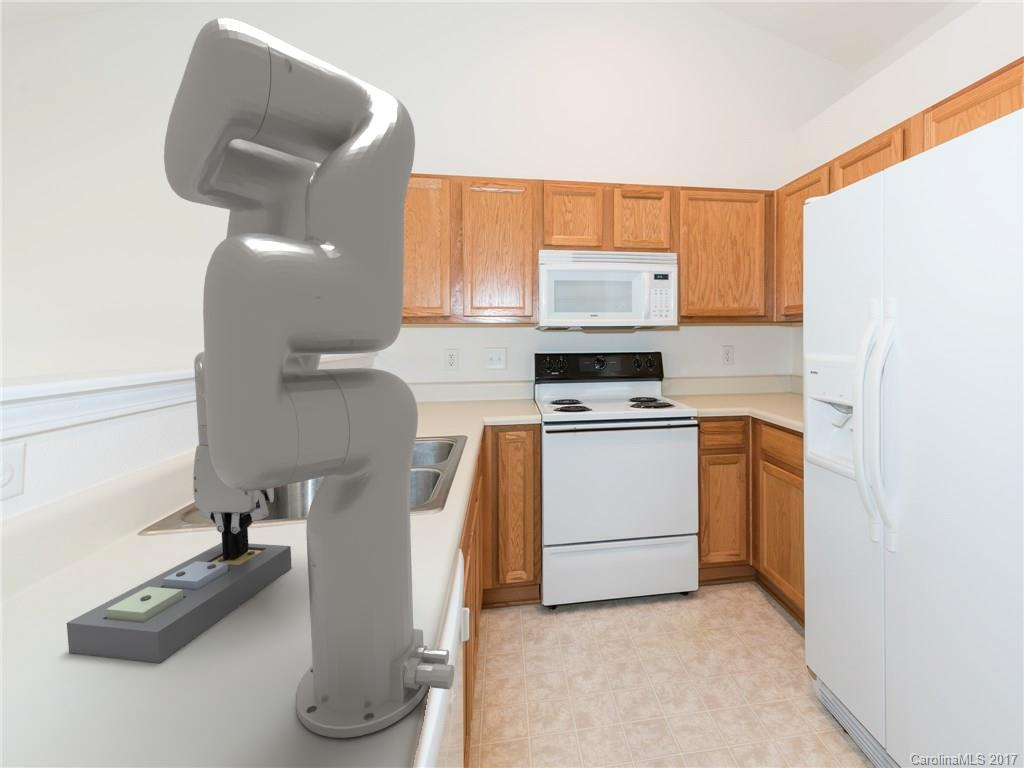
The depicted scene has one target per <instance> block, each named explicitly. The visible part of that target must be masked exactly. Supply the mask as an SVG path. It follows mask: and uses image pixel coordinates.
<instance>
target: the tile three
mask: <svg viewBox="0 0 1024 768" xmlns="http://www.w3.org/2000/svg"><path fill="white" fill-rule="evenodd" d="M260 552H261V551H259V550H248V552H247V553H245V554H243V555H241V556H240V557H238V558H236V559H235V560H230V559H223V556H222V557H220V558H218V559H216V560H214V561H213V563H227V564H233V565H240V564H242V563H243V562H245V561H246V560H248V559H250V558H251V557H253V556H255V555H256V554H258V553H260Z"/></svg>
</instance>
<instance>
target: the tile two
mask: <svg viewBox="0 0 1024 768" xmlns="http://www.w3.org/2000/svg"><path fill="white" fill-rule="evenodd" d="M227 572H228V564H227V563H213V562H199V561H196V562H194V563H192V564H190V565H188V566H186V567H185V568H183V569H181V570H179V571H177V572H175V573H173V574H171V575H169V576H168V577H166V578H164V579H163V585H164V588H173V589H185V590H199V589H200V588H202V587H204V586H205V585H207V584H209V583H210V582H212V581H214V580H215V579H217V578H218V577H220V576H222V575H223V574H225V573H227Z"/></svg>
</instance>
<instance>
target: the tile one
mask: <svg viewBox="0 0 1024 768" xmlns="http://www.w3.org/2000/svg"><path fill="white" fill-rule="evenodd" d="M182 599H183V590H181V589H169V588H157V587H147V588H145V589H143V590H141V591H139V592H137V593H136V594H134V595H132V596H130V597H128V598H126V599H124V600H122V601H121V602H119V603H117V604H115V605H113V606H111V607H109V608H107V609H106V615H107V620H118V621H128V622H138V623H144V622H146V621H148V620H149V619H151V618H153V617H154V616H156V615H158V614H159V613H161V612H162V611H164V610H166V609H167V608H169V607H171V606H172V605H174V604H176V603H177V602H179V601H181V600H182Z"/></svg>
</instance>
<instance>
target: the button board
mask: <svg viewBox="0 0 1024 768" xmlns="http://www.w3.org/2000/svg"><path fill="white" fill-rule="evenodd" d="M248 547H249V550H259V551H261V552H260V553H258V554H256V555H255V556H253V557H251V558H250V559H248V560H246V561H245V562H243V563H242V564H240V565H233V564H228V572H227V573H225V574H223V575H222V576H220V577H218V578H217V579H215V580H214V581H212V582H210V583H209V584H207V585H205V586H204V587H202V588H200V589H199V590H185V589H181V590H183V599H182V600H181V601H179V602H177V603H176V604H174V605H172V606H171V607H169V608H167V609H166V610H164V611H162V612H161V613H159V614H158V615H156V616H154V617H153V618H151V619H149V620H148V621H146V622H144V623H138V622H128V621H118V620H107V615H106V609H107V608H109V607H111V606H113V605H115V604H117V603H119V602H121V601H122V600H124V599H126V598H128V597H130V596H132V595H134V594H136V593H137V592H139V591H141V590H143V589H145V588H147V587H157V588H164V585H163V579H164V578H166V577H168V576H169V575H171V574H173V573H175V572H177V571H179V570H181V569H183V568H185V567H186V566H188V565H190V564H192V563H194V562H196V561H199V562H213V561H214V560H216V559H218V558H220V557H222V556H223V550H222V542H219V543H218V544H217V545H214V546H212V547H211V548H208V549H206V550H205V551H203V552H200V553H199V554H197V555H195V556H193V557H191V558H189V559H188V560H185V561H184V562H182V563H180V564H178V565H176V566H173V567H172V568H170V569H168V570H166V571H164V572H162V573H160V574H158V575H156V576H154V577H152V578H151V579H149V580H146V581H145V582H142V583H140V584H139V585H136V586H135V587H133V588H132V589H129V590H128V591H125V592H124V593H121V594H119V595H118V596H116V597H113V598H112V599H110V600H108V601H106V602H104V603H102V604H100V605H98V606H96V607H94V608H92V609H91V610H89V611H87V612H85V613H83V614H81V615H79V616H77V617H75V618H73V619H71V620H69V621H67V622H66V632H67V644H68V645H67V646H68V653H71V654H77V655H78V654H79V655H87V656H95V657H104V658H105V657H106V658H112V659H120V660H121V659H122V660H131V661H139V662H145V663H146V662H148V663H156V664H162V662H164V661H165V660H167V659H168V658H169V657H171V656H172V655H174V654H175V653H176V652H178V651H179V650H180V649H182V648H183V647H185V646H186V645H187V644H188V643H190V642H191V641H193V640H195V639H196V638H197V637H198V636H200V635H201V634H202V633H204V632H205V631H207V630H208V629H209V628H211V627H213V625H215V624H216V623H217V622H219V621H220V620H222V619H223V618H224V617H227V615H229V614H230V613H231V612H233V611H234V610H235V609H237V608H238V607H240V606H241V605H242V604H244V603H245V602H246V601H248V600H249V599H251V598H252V597H253V596H254V595H256V594H257V593H259V592H260V591H261V590H263V589H264V588H265V587H267V586H269V585H270V584H271V583H273V582H274V581H275V580H277V579H278V578H280V577H281V576H282V575H284V574H286V572H288V571H289V570H291V569H292V568H293V567H292V565H293V564H292V551H291V550H292V548H291V547H292V546H291V545H280V544H279V545H278V544H265V543H263V544H262V543H250V542H248ZM169 589H173V588H169Z"/></svg>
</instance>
